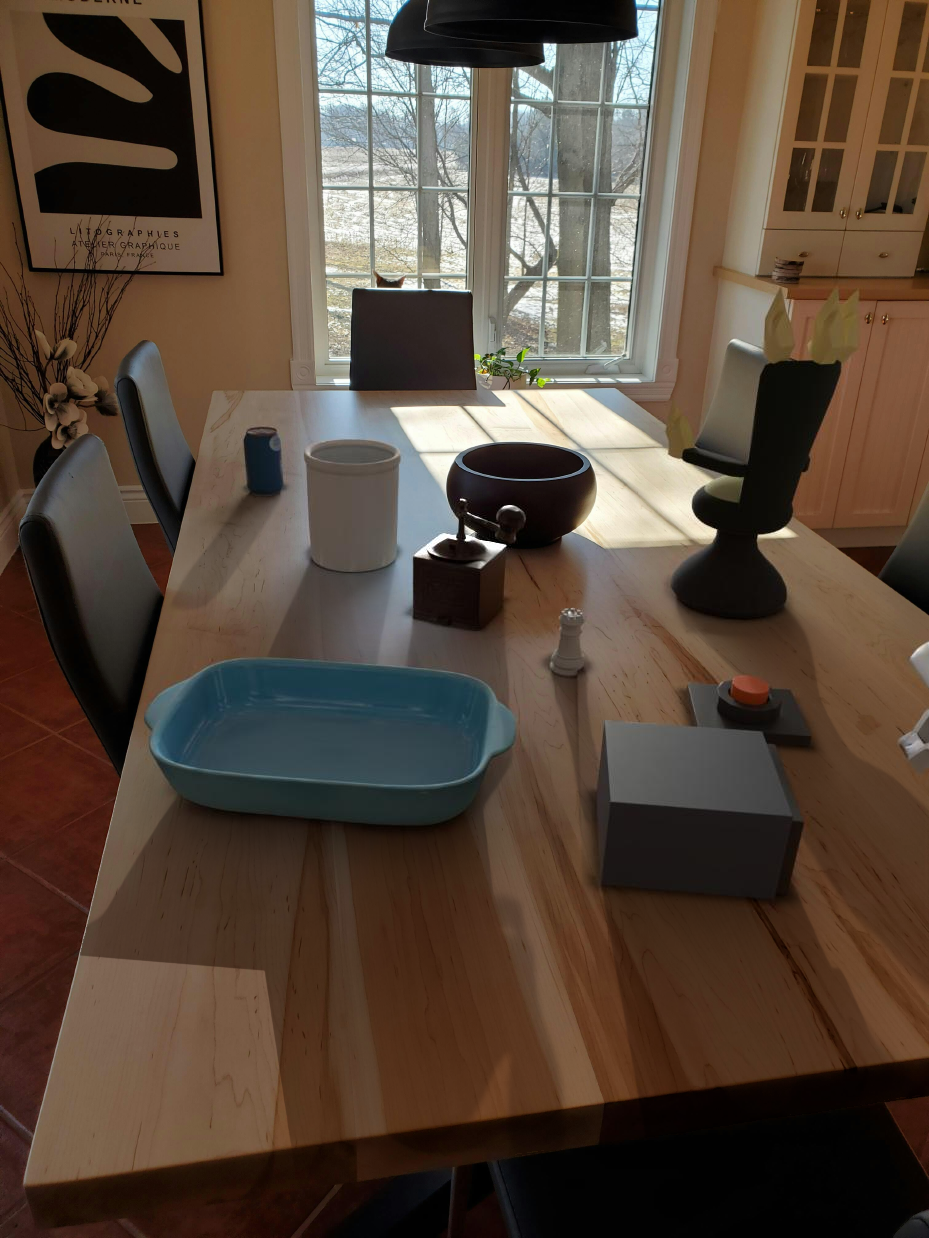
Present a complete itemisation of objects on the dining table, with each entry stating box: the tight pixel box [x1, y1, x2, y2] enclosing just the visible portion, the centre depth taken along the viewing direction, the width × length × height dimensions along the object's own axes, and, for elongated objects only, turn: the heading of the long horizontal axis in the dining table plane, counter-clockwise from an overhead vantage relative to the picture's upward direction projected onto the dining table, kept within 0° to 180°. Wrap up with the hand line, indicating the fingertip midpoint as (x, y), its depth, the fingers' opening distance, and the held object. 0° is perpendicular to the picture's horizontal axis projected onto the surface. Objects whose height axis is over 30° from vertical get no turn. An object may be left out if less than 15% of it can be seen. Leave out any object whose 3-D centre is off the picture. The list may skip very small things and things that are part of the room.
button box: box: [685, 679, 813, 748], centre depth 102 cm, size 12×10×4 cm
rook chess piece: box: [549, 607, 586, 678], centre depth 111 cm, size 4×4×8 cm
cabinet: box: [595, 719, 793, 901], centre depth 81 cm, size 15×13×10 cm
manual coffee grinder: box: [412, 498, 527, 631], centre depth 123 cm, size 16×11×18 cm
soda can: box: [242, 426, 285, 497], centre depth 171 cm, size 7×7×12 cm
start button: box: [730, 674, 771, 705], centre depth 101 cm, size 4×4×2 cm
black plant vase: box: [664, 286, 860, 619], centre depth 123 cm, size 19×22×45 cm
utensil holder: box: [303, 438, 402, 573], centre depth 141 cm, size 15×15×18 cm
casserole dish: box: [143, 657, 517, 826], centre depth 91 cm, size 37×22×7 cm, turn 85°
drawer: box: [767, 744, 805, 896], centre depth 80 cm, size 15×11×8 cm
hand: (907, 757), depth 76 cm, fingers closed
